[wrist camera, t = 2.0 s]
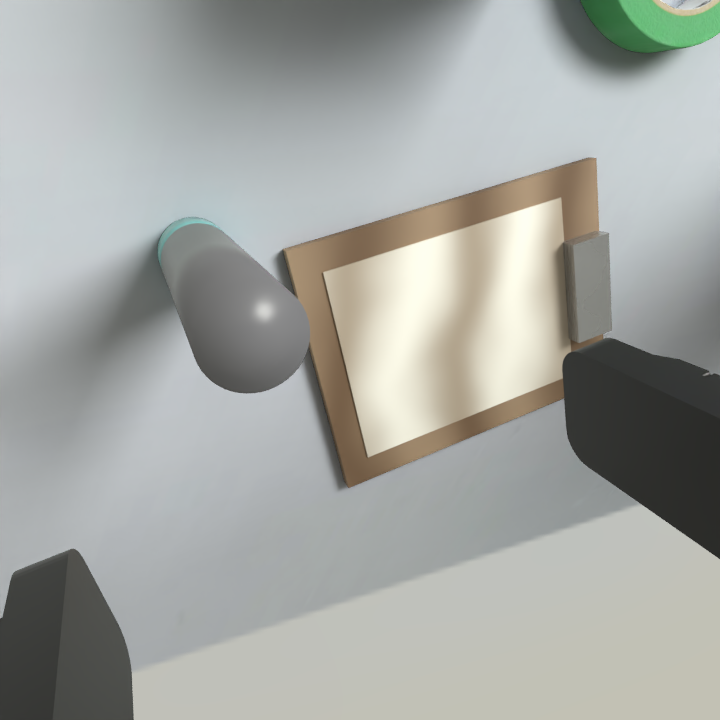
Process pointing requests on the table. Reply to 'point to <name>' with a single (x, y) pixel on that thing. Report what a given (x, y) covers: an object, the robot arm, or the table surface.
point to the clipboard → (453, 314)
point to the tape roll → (654, 23)
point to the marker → (232, 309)
